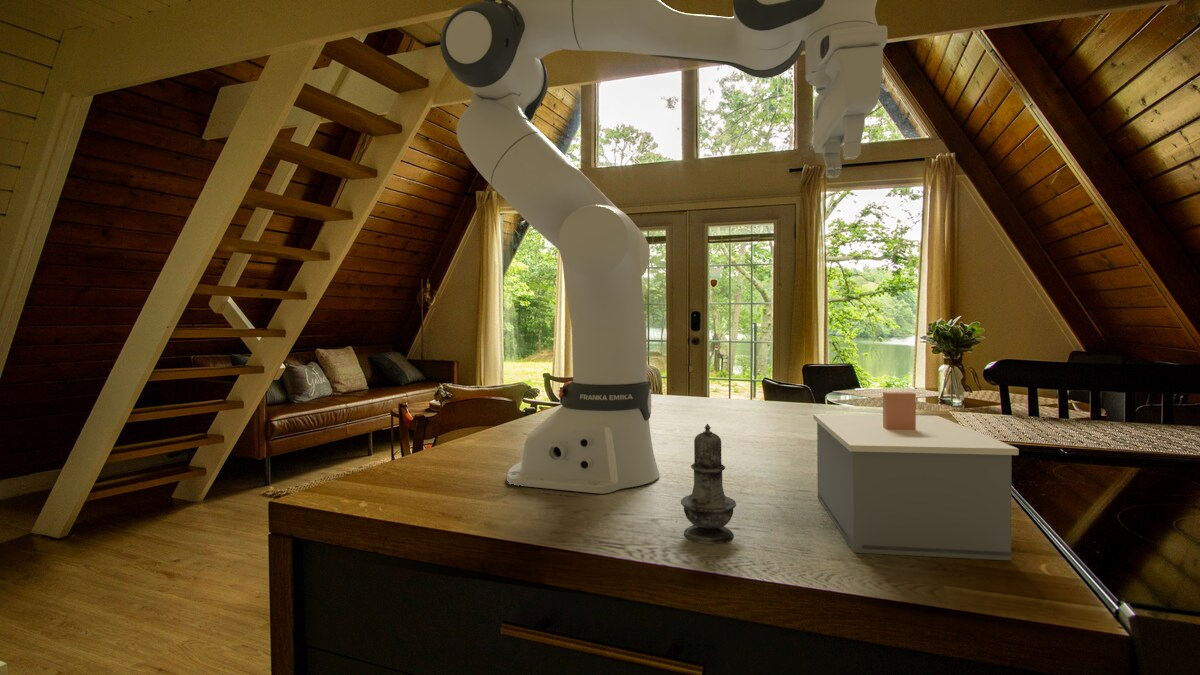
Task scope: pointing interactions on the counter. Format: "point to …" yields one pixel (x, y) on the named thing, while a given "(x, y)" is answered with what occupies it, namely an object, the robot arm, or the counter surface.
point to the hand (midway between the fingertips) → (842, 168)
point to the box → (917, 501)
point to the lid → (908, 431)
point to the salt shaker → (708, 494)
